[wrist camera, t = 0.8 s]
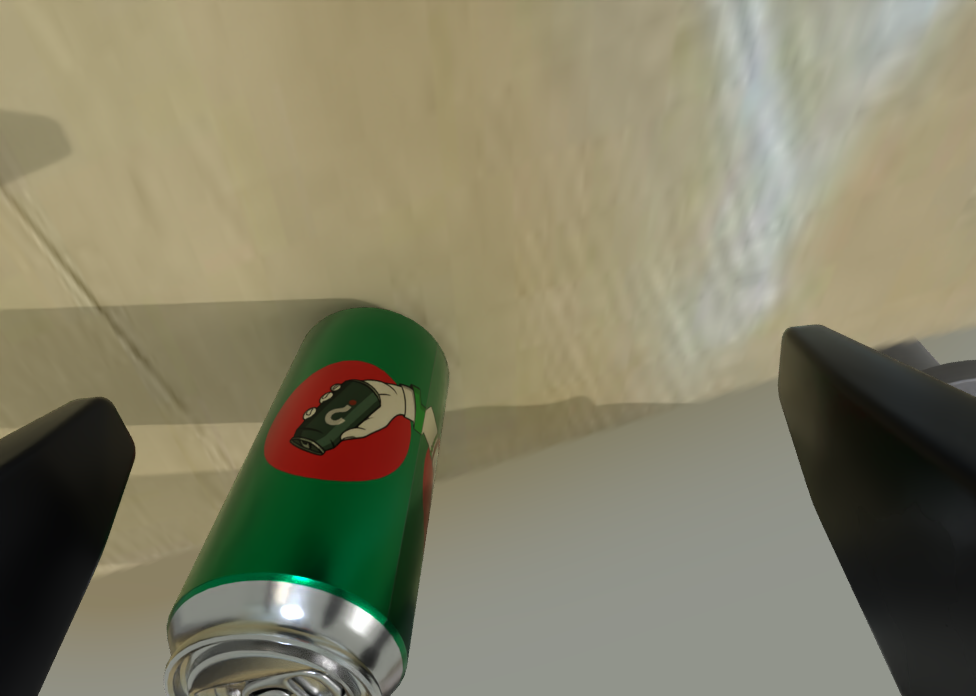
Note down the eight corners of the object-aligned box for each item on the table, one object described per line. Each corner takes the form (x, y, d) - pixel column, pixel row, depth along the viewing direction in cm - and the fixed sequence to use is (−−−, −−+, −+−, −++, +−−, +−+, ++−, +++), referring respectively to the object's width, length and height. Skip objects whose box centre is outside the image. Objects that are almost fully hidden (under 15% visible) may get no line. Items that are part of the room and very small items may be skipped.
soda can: (272, 336, 23) (86, 667, 13) (398, 273, 22) (295, 591, 12) (358, 439, 26) (254, 787, 16) (477, 388, 24) (447, 736, 14)
